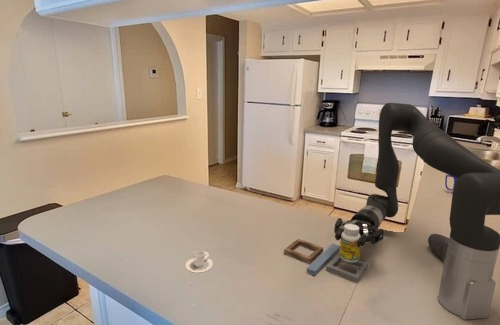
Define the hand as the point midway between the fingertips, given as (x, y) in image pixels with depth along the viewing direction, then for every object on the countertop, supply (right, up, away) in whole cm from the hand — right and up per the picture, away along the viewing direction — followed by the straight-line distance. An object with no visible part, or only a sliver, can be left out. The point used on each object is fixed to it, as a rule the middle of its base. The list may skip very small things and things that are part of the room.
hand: (347, 240), depth 82 cm
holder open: (+1, -10, +5) cm, 11 cm away
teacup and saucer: (-39, -9, +7) cm, 40 cm away
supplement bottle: (+1, -6, +4) cm, 7 cm away
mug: (+78, +5, +70) cm, 105 cm away
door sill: (-4, -8, +9) cm, 13 cm away
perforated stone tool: (+34, -9, +12) cm, 37 cm away
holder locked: (-10, -7, +13) cm, 18 cm away
